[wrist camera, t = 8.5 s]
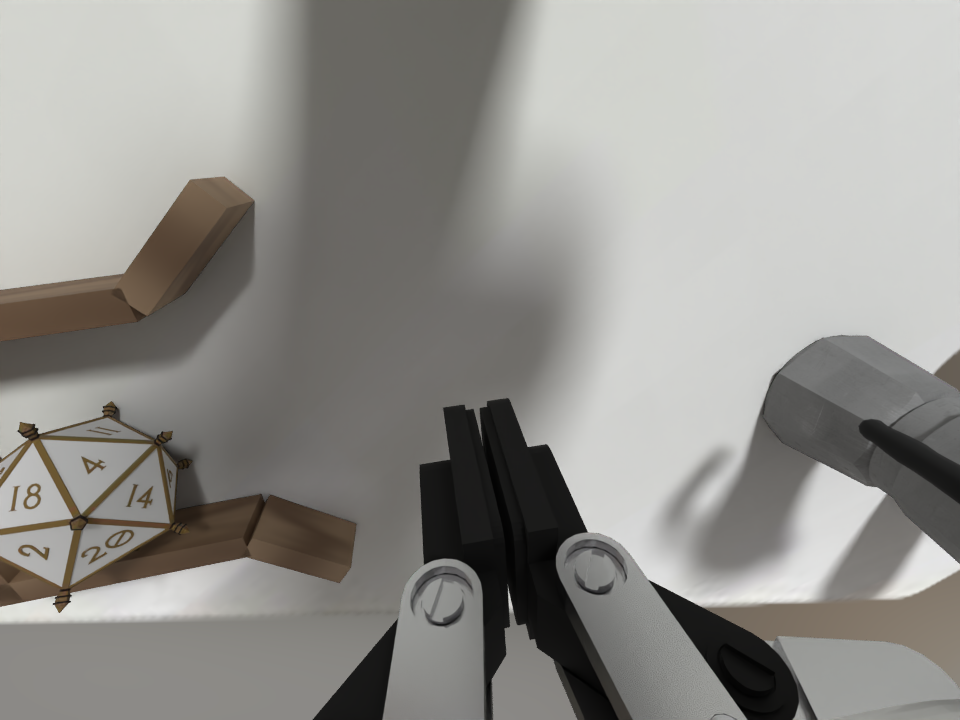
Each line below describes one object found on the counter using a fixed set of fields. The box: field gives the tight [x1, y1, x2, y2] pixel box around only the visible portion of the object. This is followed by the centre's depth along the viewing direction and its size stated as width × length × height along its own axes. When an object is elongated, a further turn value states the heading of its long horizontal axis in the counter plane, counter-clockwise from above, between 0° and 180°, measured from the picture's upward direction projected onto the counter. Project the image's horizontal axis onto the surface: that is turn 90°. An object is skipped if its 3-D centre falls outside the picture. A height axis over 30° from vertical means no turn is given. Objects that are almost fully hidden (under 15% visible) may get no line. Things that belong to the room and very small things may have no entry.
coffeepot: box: [763, 335, 960, 564], centre depth 23 cm, size 15×9×18 cm, turn 66°
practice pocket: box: [0, 177, 356, 607], centre depth 18 cm, size 23×19×12 cm
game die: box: [0, 401, 192, 613], centre depth 21 cm, size 9×8×10 cm
